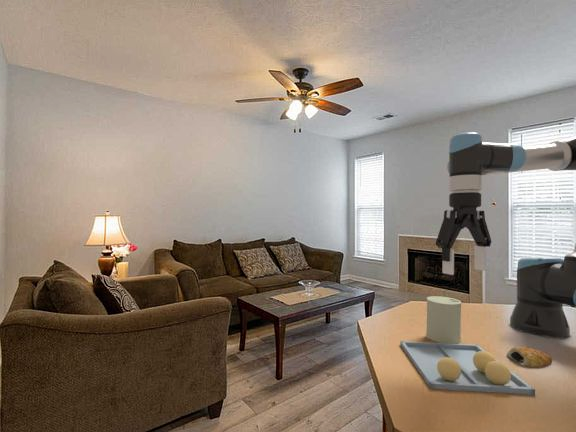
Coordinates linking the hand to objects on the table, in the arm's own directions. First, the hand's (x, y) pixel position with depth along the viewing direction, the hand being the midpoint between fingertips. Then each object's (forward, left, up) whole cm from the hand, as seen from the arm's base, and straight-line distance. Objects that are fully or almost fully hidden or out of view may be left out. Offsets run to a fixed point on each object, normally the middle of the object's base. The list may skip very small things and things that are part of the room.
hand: (464, 271), depth 85 cm
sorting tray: (+6, +11, -21) cm, 24 cm away
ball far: (+11, +18, -20) cm, 29 cm away
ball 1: (+2, +13, -20) cm, 24 cm away
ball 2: (+2, +18, -20) cm, 28 cm away
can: (+2, -7, -21) cm, 23 cm away
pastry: (-13, +6, -21) cm, 26 cm away
